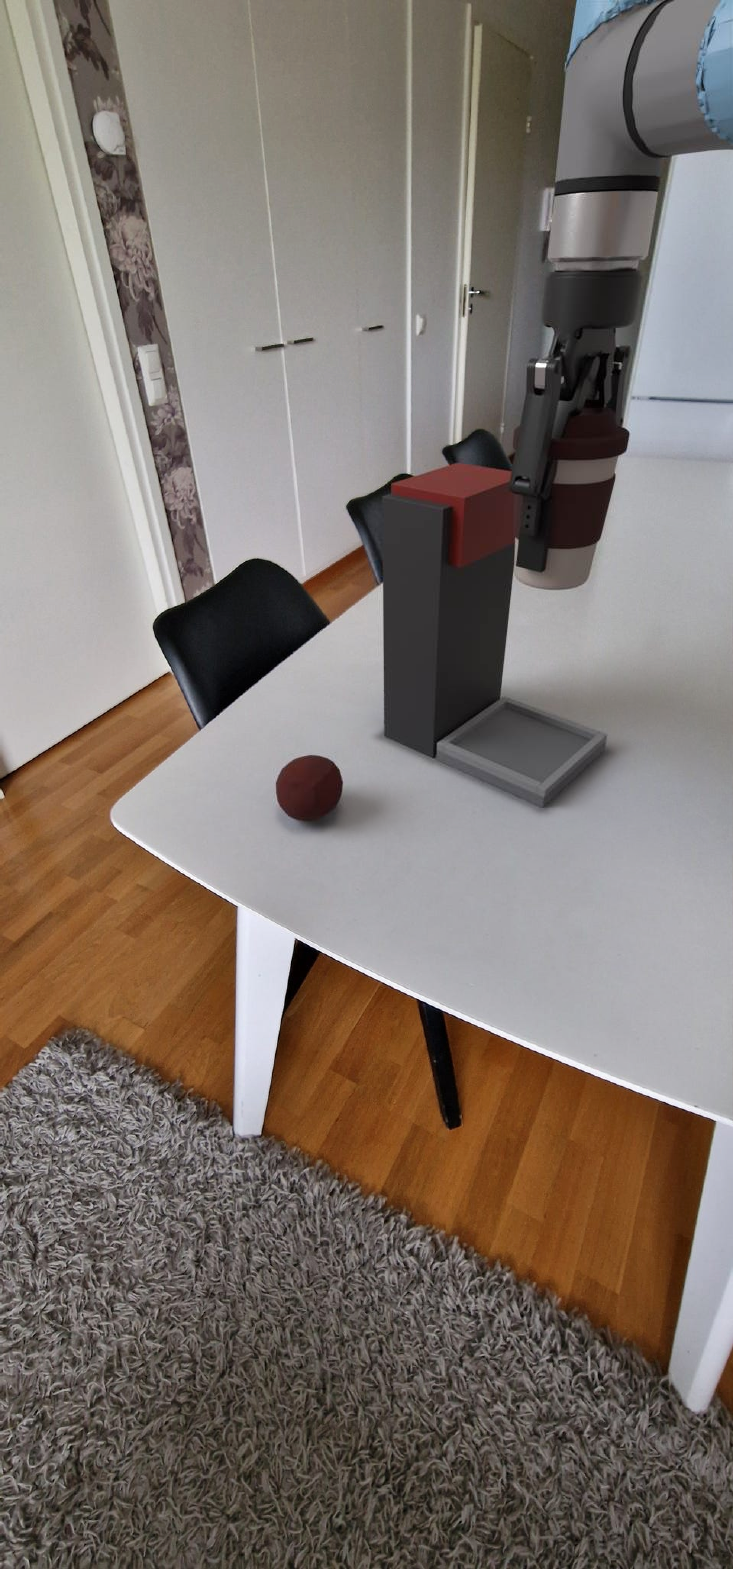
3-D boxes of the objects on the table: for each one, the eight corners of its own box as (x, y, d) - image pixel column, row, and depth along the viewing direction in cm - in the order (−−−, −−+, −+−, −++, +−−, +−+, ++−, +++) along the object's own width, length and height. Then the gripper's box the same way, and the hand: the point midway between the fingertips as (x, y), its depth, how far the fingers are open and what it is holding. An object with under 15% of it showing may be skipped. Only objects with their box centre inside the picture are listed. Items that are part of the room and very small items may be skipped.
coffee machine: (604, 750, 88) (660, 491, 70) (542, 807, 79) (588, 527, 61) (451, 692, 101) (465, 460, 82) (384, 736, 92) (381, 486, 73)
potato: (354, 801, 81) (352, 750, 77) (323, 842, 75) (319, 789, 71) (299, 786, 83) (294, 736, 79) (264, 824, 78) (257, 772, 74)
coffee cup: (614, 596, 66) (649, 418, 57) (508, 598, 66) (526, 421, 57) (588, 560, 74) (615, 399, 65) (493, 562, 74) (508, 401, 65)
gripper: (610, 264, 63) (571, 523, 77) (478, 270, 51) (460, 577, 64) (694, 263, 59) (637, 536, 73) (573, 269, 47) (531, 597, 60)
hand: (554, 555), depth 68 cm, fingers closed on coffee cup, 8 cm apart
